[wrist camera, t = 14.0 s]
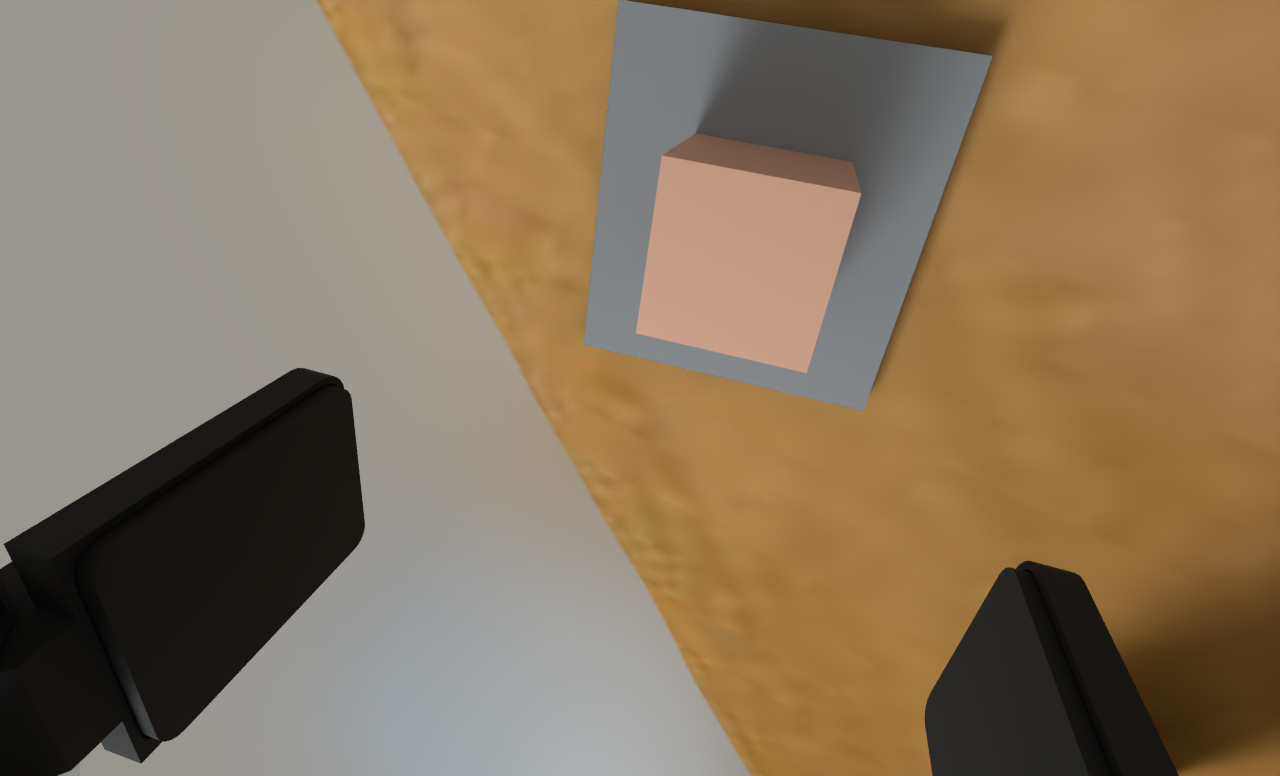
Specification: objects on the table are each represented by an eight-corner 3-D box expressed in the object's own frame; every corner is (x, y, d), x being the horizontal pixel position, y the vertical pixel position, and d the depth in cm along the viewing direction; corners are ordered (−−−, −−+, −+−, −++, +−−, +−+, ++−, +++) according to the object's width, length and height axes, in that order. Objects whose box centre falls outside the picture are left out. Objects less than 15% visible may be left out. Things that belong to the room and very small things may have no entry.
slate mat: (625, 0, 24) (618, -1, 23) (986, 55, 22) (992, 56, 21) (590, 336, 31) (583, 344, 30) (861, 400, 29) (863, 410, 28)
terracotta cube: (695, 133, 25) (662, 155, 19) (852, 161, 24) (861, 193, 18) (670, 280, 27) (636, 333, 22) (809, 310, 27) (806, 373, 21)
